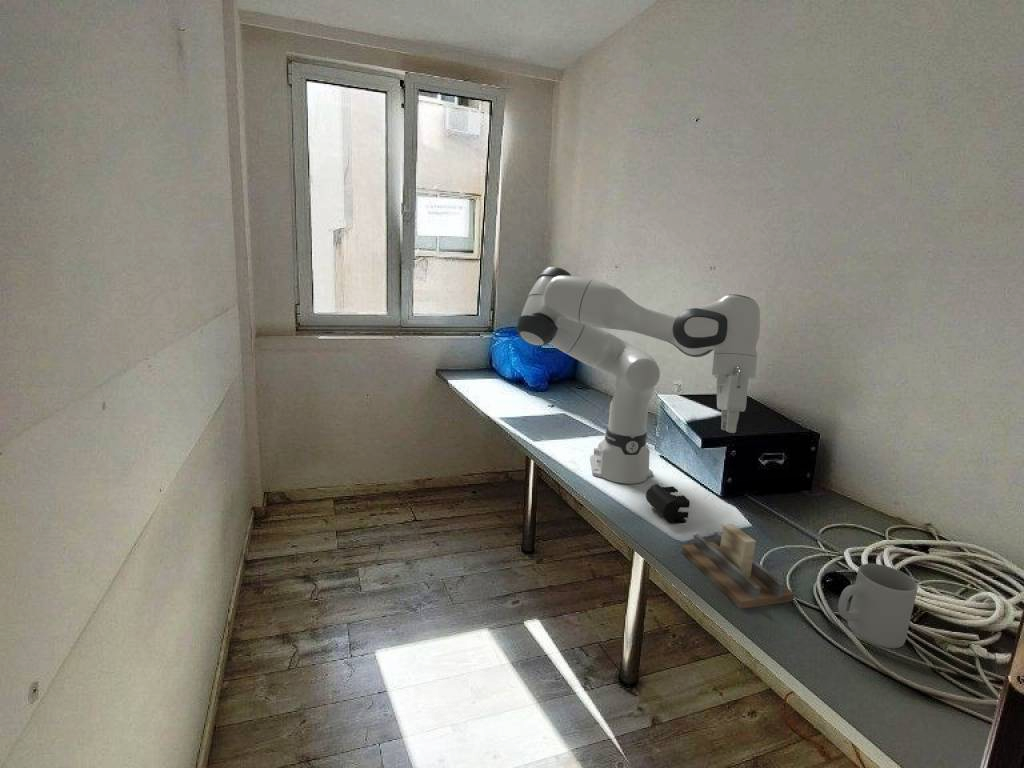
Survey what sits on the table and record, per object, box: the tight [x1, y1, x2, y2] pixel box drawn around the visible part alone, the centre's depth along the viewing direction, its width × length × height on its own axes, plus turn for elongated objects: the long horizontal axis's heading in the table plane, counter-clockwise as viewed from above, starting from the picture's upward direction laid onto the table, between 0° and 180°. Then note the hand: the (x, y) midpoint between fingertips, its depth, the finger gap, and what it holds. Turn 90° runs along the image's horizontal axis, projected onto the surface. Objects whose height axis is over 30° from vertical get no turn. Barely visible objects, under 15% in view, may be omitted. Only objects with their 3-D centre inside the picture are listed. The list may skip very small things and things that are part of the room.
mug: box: [838, 563, 919, 649], centre depth 89 cm, size 12×8×11 cm
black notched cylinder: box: [645, 483, 691, 525], centre depth 130 cm, size 10×7×7 cm
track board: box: [680, 531, 796, 610], centre depth 106 cm, size 20×12×4 cm, turn 14°
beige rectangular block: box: [719, 523, 757, 577], centre depth 105 cm, size 7×2×8 cm, turn 14°
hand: (728, 431), depth 112 cm, fingers open, 8 cm apart
